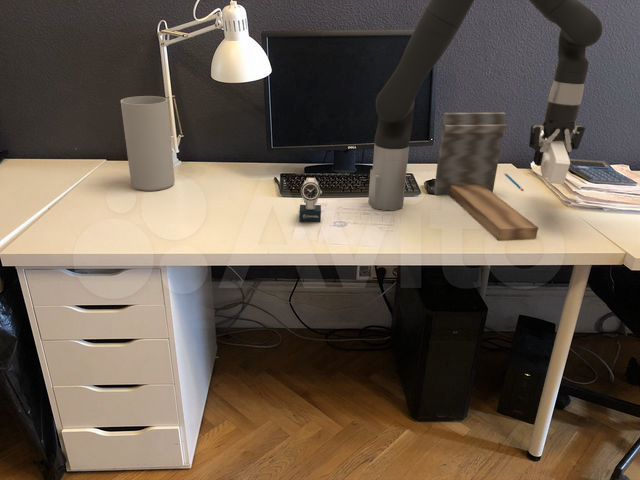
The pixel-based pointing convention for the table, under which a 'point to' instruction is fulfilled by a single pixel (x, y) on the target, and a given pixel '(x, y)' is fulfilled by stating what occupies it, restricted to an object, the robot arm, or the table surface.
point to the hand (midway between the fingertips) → (549, 164)
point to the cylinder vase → (148, 142)
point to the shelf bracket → (555, 162)
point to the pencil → (514, 182)
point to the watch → (310, 202)
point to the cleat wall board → (477, 172)
